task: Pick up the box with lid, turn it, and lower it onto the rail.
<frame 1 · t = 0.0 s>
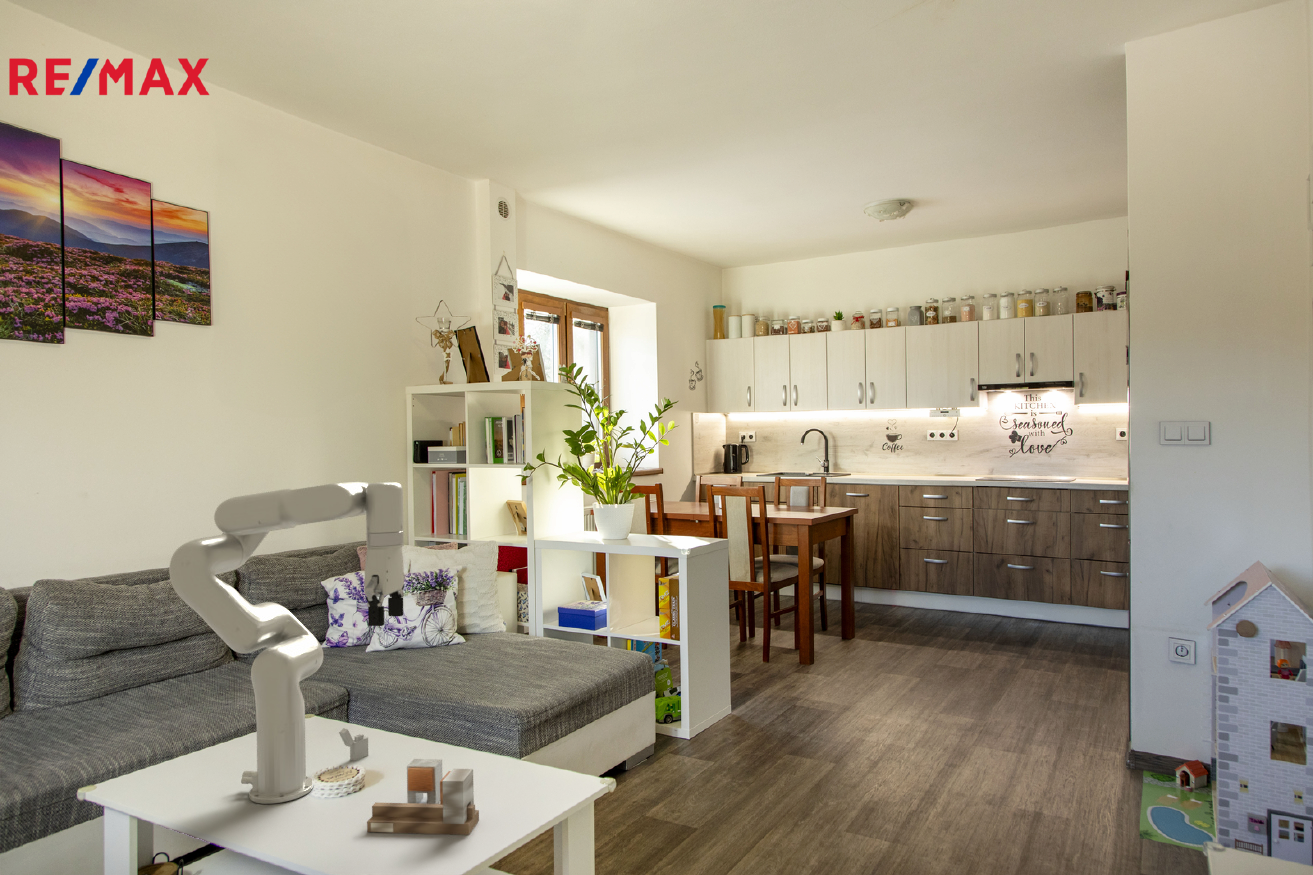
hand: (386, 620, 175), 37 cm above the table, tool pointing down, fingers open, 9 cm apart
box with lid: (425, 801, 171), on the table
rail: (423, 826, 159), on the table
lighter: (354, 760, 195), on the table
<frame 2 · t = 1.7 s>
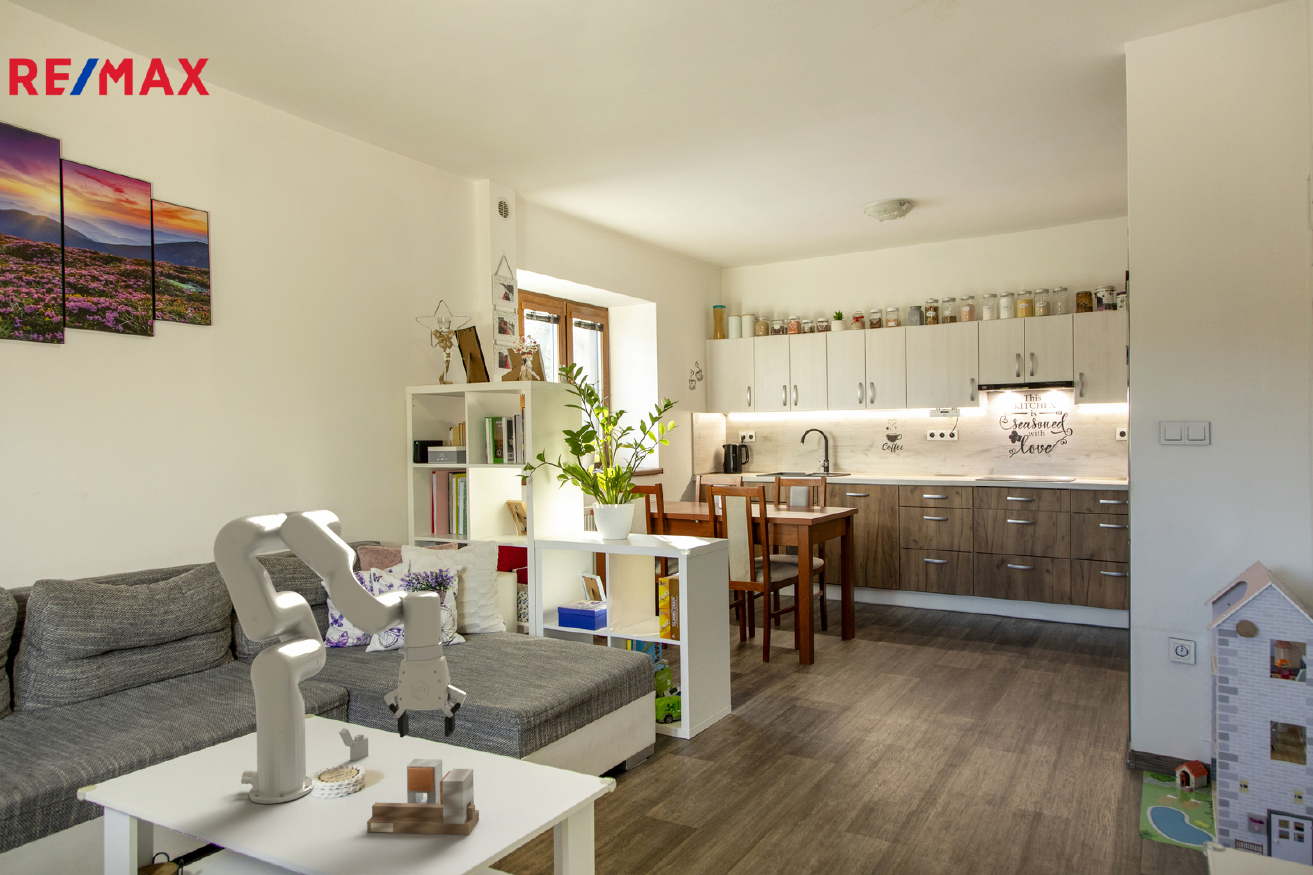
hand: (426, 735, 171), 14 cm above the table, tool pointing down, fingers open, 9 cm apart
nothing on the table moved.
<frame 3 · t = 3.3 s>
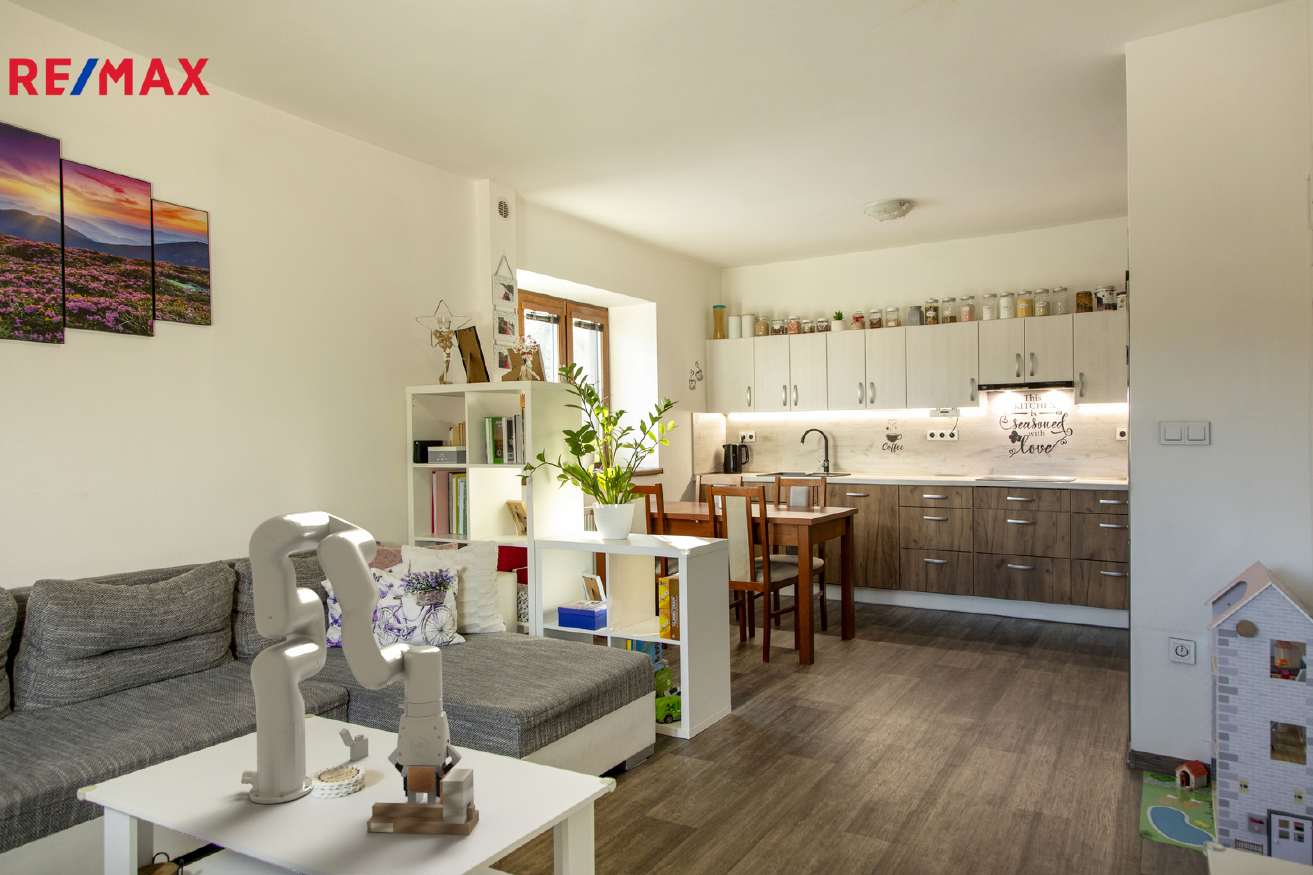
hand: (425, 793, 171), 2 cm above the table, tool pointing down, fingers closed on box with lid, 6 cm apart
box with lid: (425, 801, 171), on the table, touching gripper
everything else where it was.
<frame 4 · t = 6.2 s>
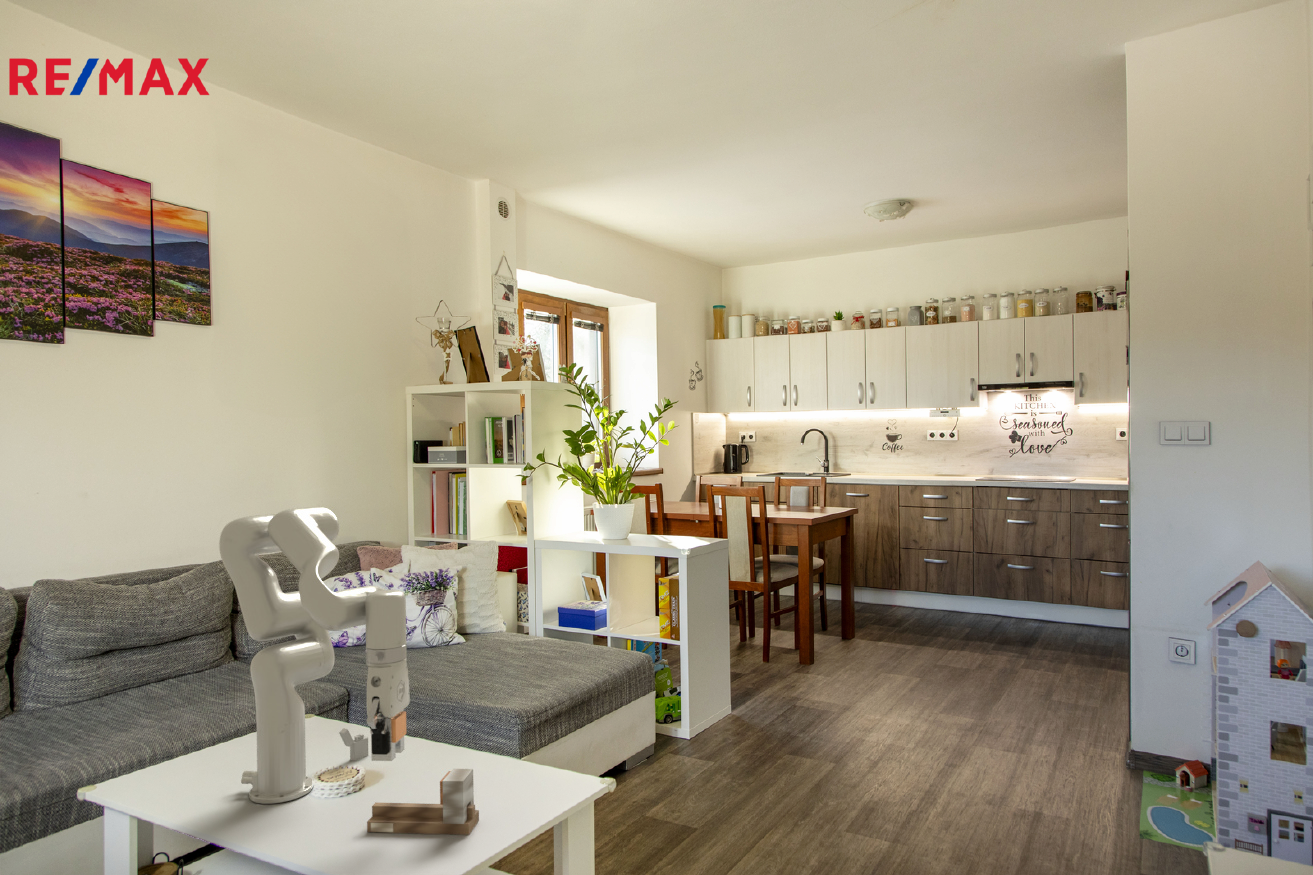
hand: (387, 746, 160), 15 cm above the table, tool pointing down, fingers closed on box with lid, 6 cm apart
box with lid: (388, 755, 160), point 14 cm above the table, touching gripper
everything else where it was.
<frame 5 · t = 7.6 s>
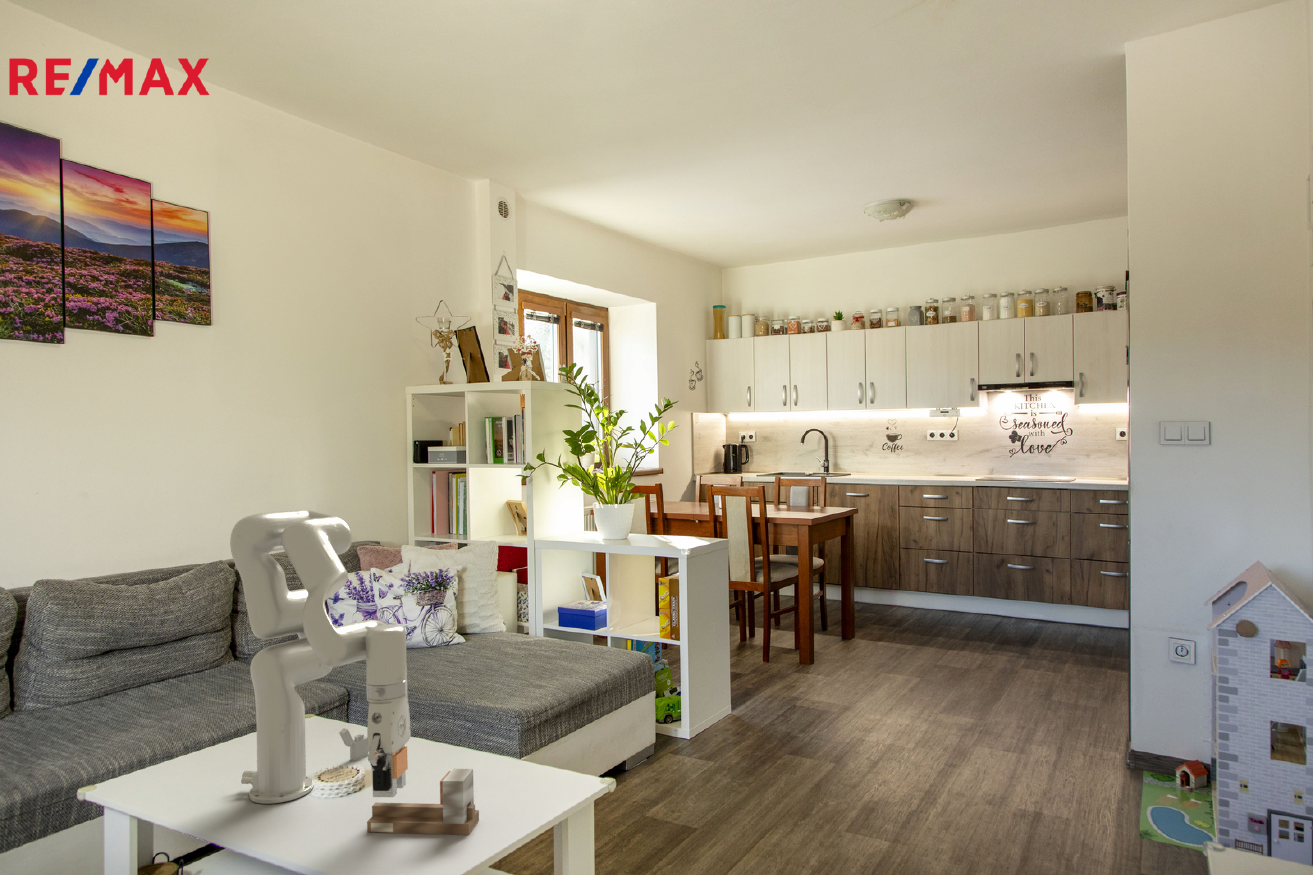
hand: (389, 782, 160), 8 cm above the table, tool pointing down, fingers closed on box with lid, 6 cm apart
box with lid: (389, 790, 160), point 7 cm above the table, touching gripper
everything else where it was.
when the fingers open (5 cm above the table, at t = 9.0 s): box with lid stays where it is, resting on rail.
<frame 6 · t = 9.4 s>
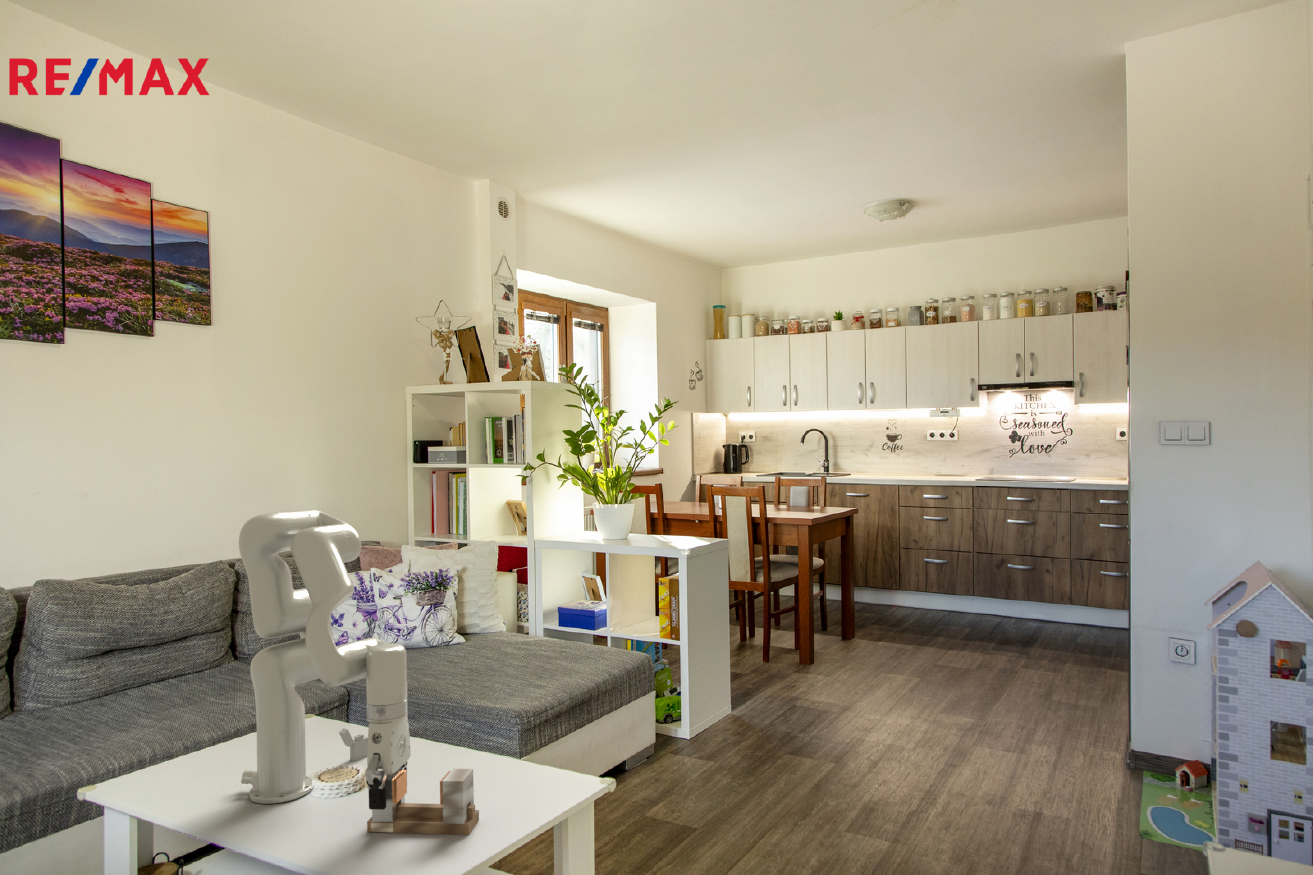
hand: (388, 797, 160), 5 cm above the table, tool pointing down, fingers open, 9 cm apart
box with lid: (388, 814, 160), point 2 cm above the table, touching rail
everything else where it was.
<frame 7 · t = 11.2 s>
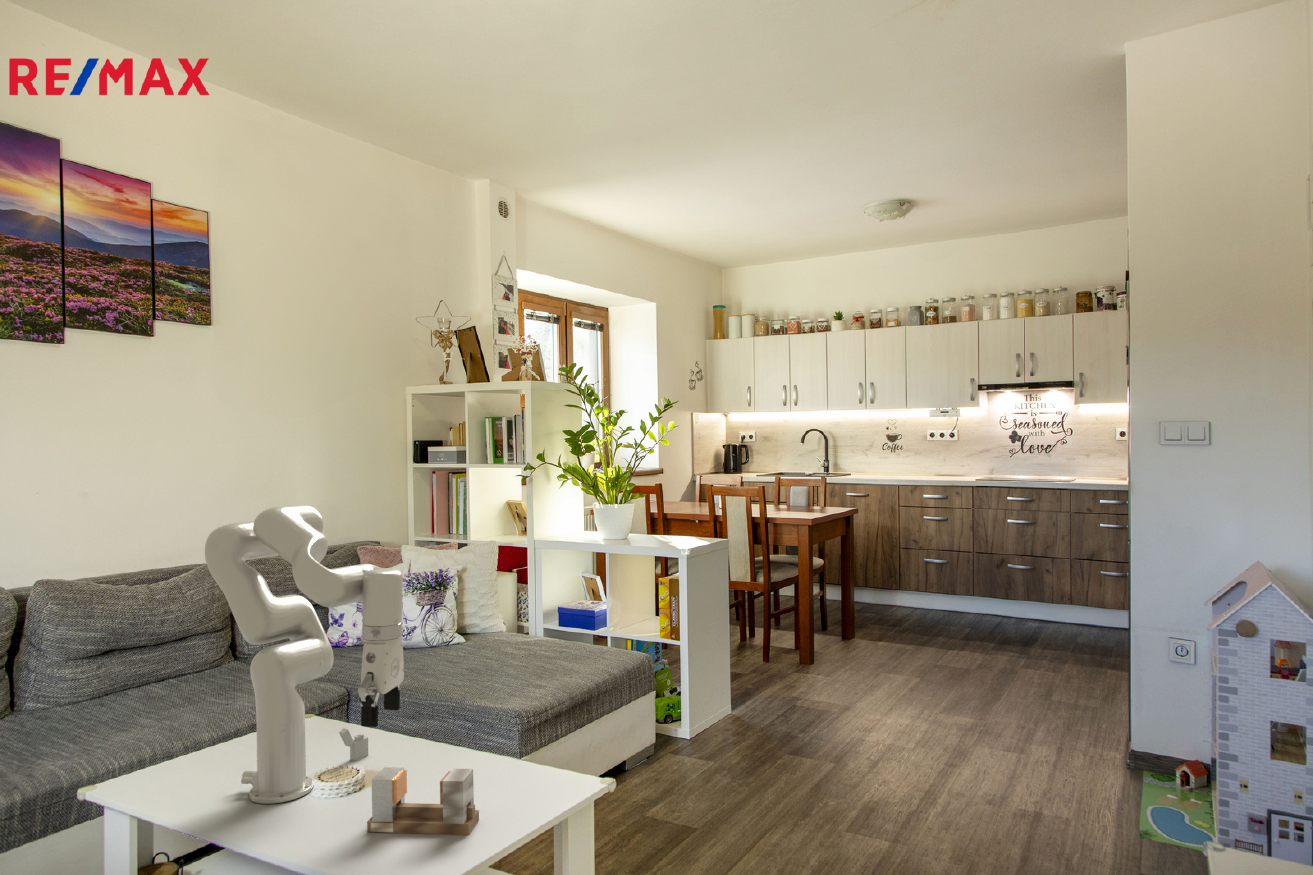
hand: (381, 717, 164), 20 cm above the table, tool pointing down, fingers open, 9 cm apart
nothing on the table moved.
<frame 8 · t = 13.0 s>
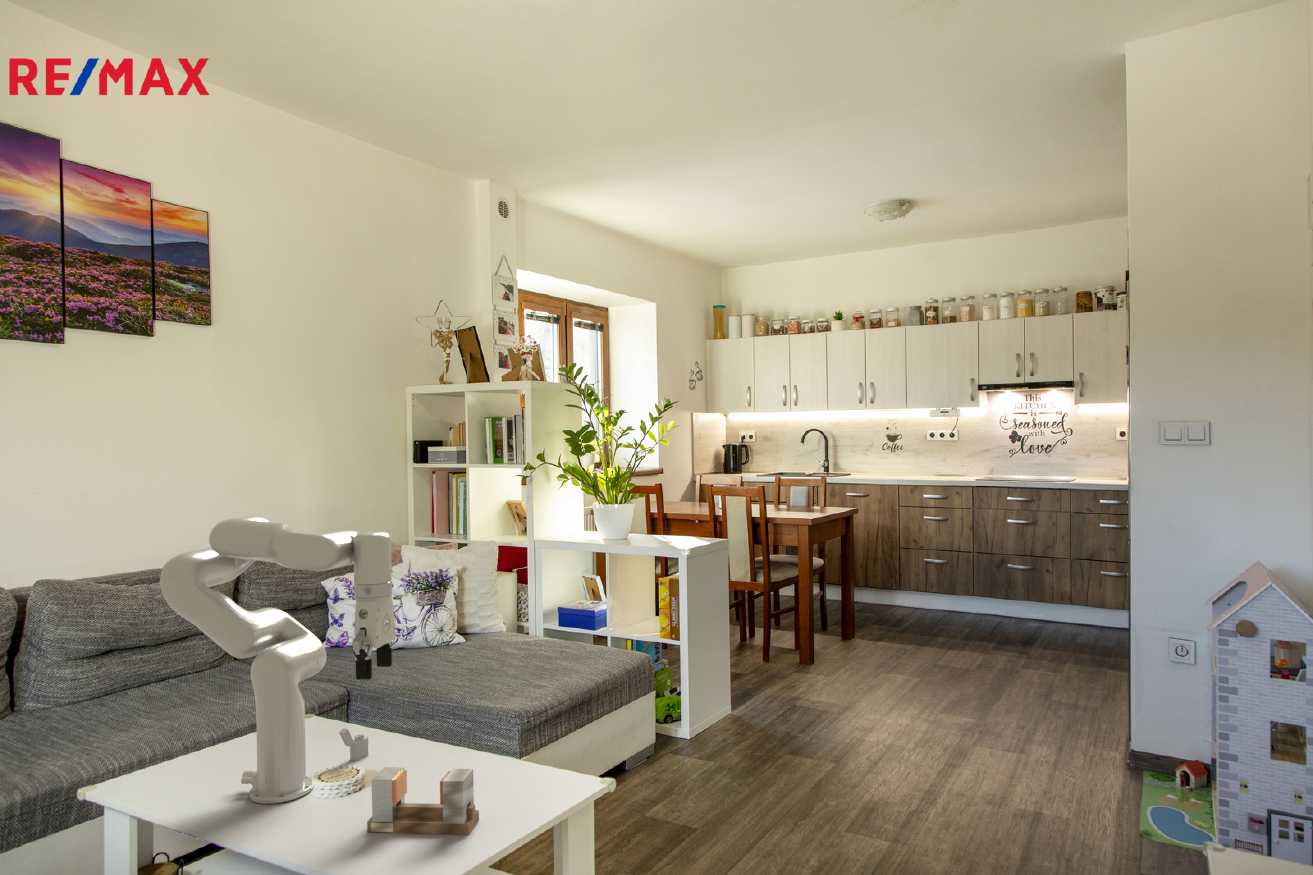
hand: (374, 672, 173), 26 cm above the table, tool pointing down, fingers open, 9 cm apart
nothing on the table moved.
at the end: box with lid 0.1 cm from the target spot on the rail, point 2.0 cm above the rail's base; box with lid tilted 0°; the gripper is holding nothing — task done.
